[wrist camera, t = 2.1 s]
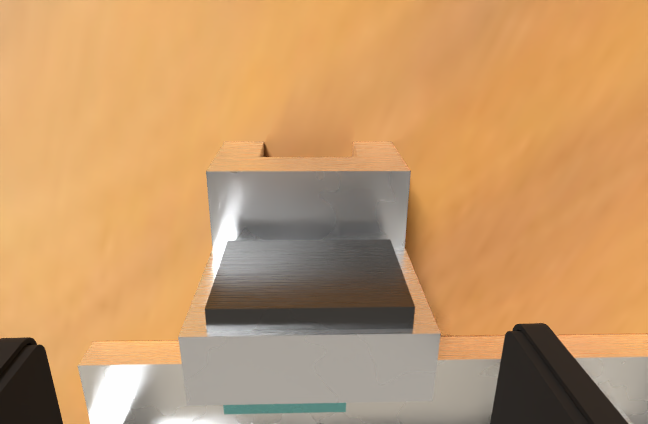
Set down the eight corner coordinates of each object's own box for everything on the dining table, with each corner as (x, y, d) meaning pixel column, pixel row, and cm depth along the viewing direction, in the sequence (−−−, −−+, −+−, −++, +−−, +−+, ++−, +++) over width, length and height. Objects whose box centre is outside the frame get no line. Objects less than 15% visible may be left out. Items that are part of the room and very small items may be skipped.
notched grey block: (224, 141, 18) (166, 237, 10) (391, 141, 18) (452, 235, 11) (232, 265, 20) (188, 421, 12) (383, 264, 20) (430, 416, 12)
